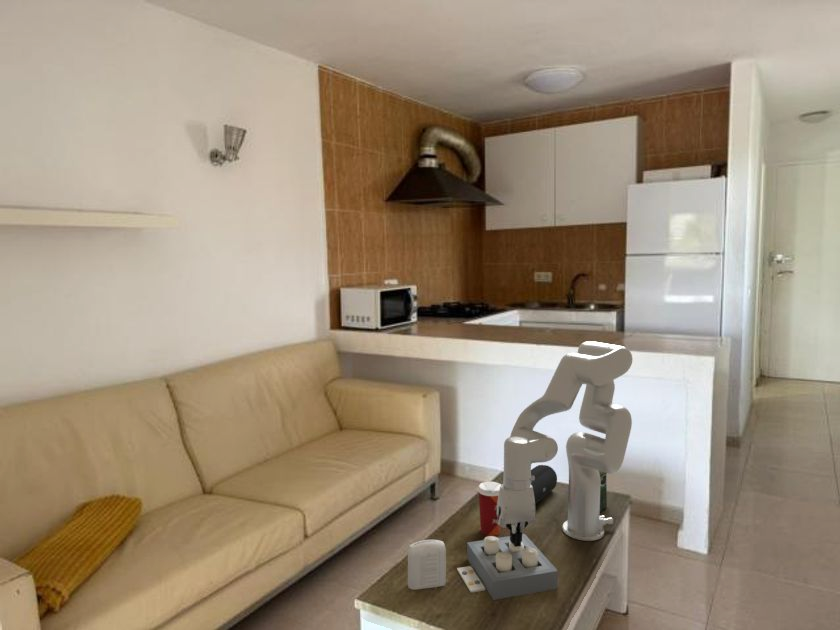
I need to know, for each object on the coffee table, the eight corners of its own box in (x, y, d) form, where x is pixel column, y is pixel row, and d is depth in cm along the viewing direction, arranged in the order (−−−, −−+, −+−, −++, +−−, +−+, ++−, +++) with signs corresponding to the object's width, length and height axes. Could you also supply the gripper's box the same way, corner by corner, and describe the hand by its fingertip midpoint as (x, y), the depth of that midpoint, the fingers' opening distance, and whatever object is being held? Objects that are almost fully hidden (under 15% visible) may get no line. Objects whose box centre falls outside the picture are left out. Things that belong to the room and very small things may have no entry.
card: (470, 567, 160) (470, 565, 160) (485, 590, 149) (485, 587, 149) (457, 569, 159) (457, 567, 159) (470, 592, 148) (470, 590, 148)
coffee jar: (589, 499, 202) (590, 448, 200) (610, 506, 196) (611, 454, 194) (574, 508, 195) (576, 456, 193) (596, 515, 190) (597, 462, 187)
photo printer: (443, 577, 155) (443, 534, 153) (447, 586, 151) (447, 542, 149) (406, 583, 153) (405, 539, 151) (409, 592, 149) (409, 547, 147)
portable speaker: (527, 519, 188) (528, 490, 187) (501, 511, 194) (501, 483, 192) (559, 492, 208) (559, 466, 207) (534, 485, 214) (534, 460, 213)
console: (524, 549, 169) (524, 533, 168) (557, 588, 149) (557, 570, 149) (466, 558, 164) (467, 542, 163) (493, 600, 145) (493, 581, 144)
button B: (533, 562, 156) (533, 545, 155) (540, 571, 152) (540, 553, 151) (519, 565, 155) (519, 548, 154) (525, 573, 151) (526, 556, 150)
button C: (495, 550, 162) (495, 534, 161) (501, 558, 158) (501, 541, 157) (481, 553, 161) (481, 536, 160) (487, 560, 157) (487, 544, 156)
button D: (507, 566, 154) (508, 549, 153) (514, 575, 150) (514, 558, 149) (493, 569, 153) (493, 552, 152) (499, 578, 149) (499, 560, 148)
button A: (519, 555, 164) (520, 539, 164) (526, 563, 160) (526, 546, 160) (506, 557, 163) (506, 541, 163) (512, 565, 159) (512, 548, 159)
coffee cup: (502, 539, 175) (503, 492, 173) (476, 536, 176) (476, 490, 175) (504, 526, 183) (504, 481, 181) (478, 523, 185) (478, 479, 183)
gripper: (535, 473, 164) (534, 534, 167) (486, 479, 161) (486, 541, 163) (547, 484, 157) (546, 547, 159) (497, 490, 153) (496, 554, 155)
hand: (515, 543), depth 161 cm, fingers closed
